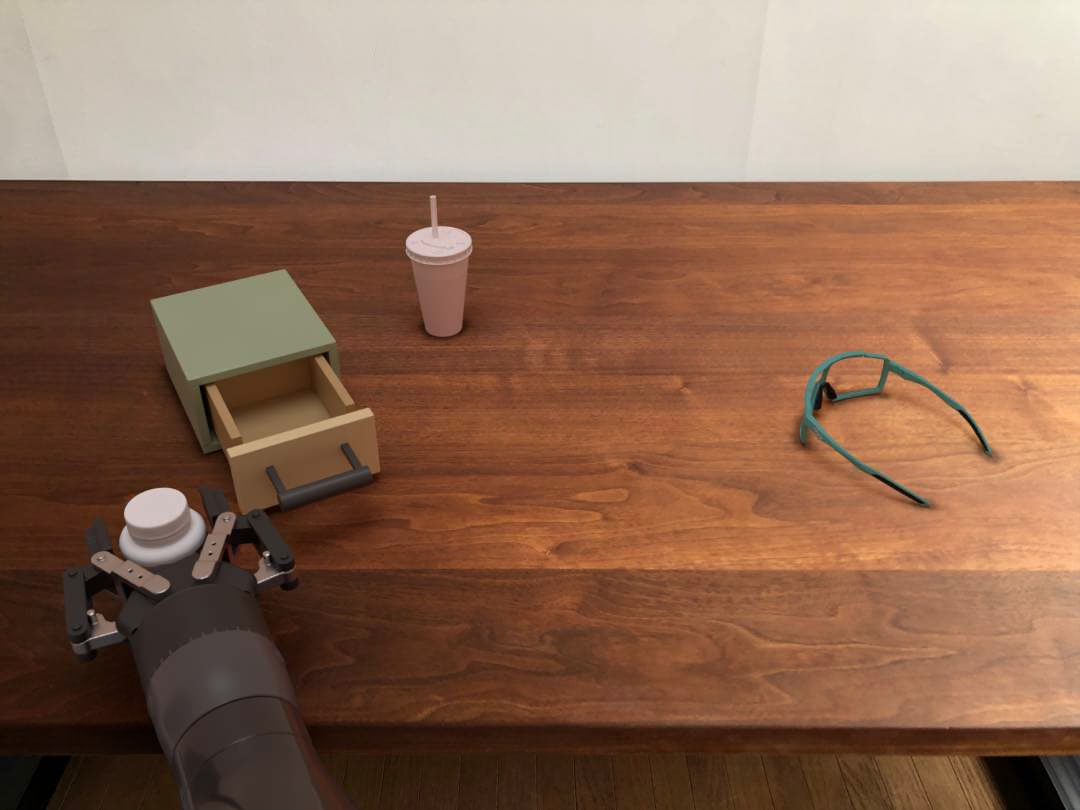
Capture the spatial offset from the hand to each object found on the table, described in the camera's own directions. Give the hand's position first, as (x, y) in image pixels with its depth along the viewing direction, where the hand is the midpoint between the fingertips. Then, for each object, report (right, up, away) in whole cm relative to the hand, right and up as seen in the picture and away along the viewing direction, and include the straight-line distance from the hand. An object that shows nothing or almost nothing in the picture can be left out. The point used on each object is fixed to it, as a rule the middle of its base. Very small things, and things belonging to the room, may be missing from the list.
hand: (154, 511), depth 72 cm
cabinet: (0, +9, +25) cm, 27 cm away
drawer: (+6, +2, +15) cm, 17 cm away
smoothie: (+17, +15, +35) cm, 41 cm away
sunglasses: (+56, +4, +20) cm, 59 cm away
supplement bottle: (+1, -8, +3) cm, 9 cm away
